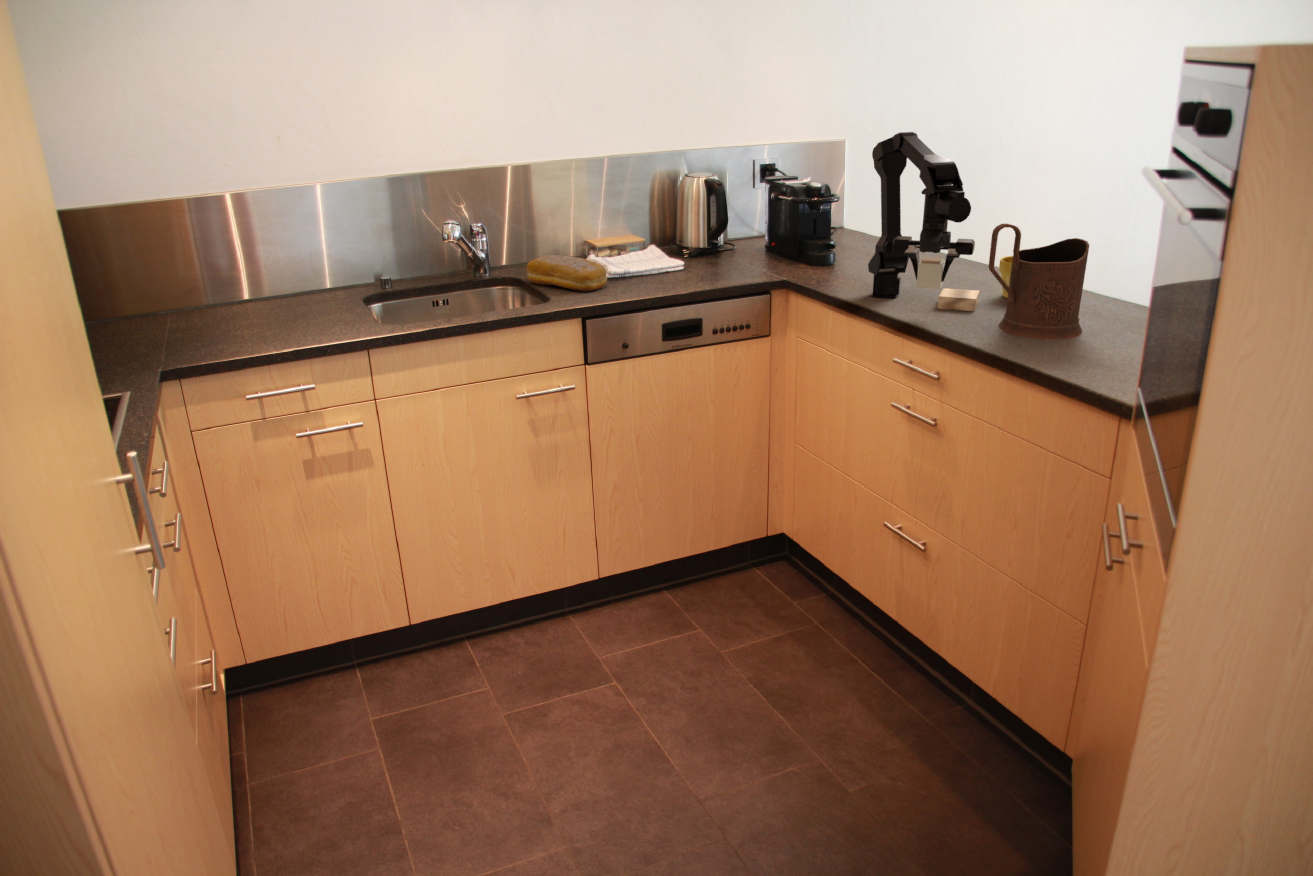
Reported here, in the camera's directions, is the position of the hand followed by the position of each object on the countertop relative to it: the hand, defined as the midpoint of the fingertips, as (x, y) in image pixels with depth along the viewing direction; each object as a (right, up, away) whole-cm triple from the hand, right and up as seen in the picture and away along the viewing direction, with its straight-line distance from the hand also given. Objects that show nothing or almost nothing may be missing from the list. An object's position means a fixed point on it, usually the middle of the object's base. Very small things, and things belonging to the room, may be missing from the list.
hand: (930, 280), depth 227 cm
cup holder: (+21, -13, -9) cm, 26 cm away
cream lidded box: (0, -1, 0) cm, 1 cm away
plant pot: (+28, -1, +19) cm, 34 cm away
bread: (-93, +6, +44) cm, 103 cm away
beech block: (+11, -5, +12) cm, 17 cm away
